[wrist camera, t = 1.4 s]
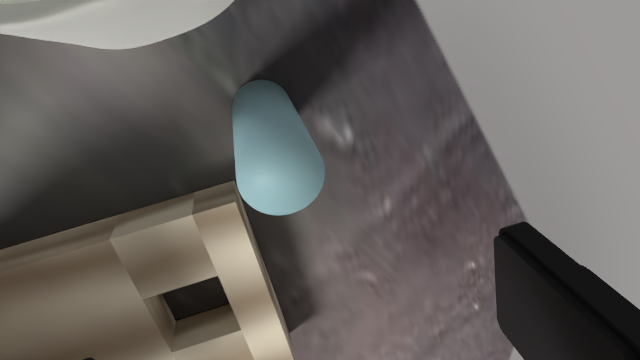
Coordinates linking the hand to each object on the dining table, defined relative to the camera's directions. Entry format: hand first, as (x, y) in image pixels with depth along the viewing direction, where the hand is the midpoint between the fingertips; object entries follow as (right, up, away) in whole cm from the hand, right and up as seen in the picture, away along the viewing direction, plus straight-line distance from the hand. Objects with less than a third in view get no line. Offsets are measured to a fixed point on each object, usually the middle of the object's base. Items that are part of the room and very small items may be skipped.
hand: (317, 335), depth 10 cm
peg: (-3, +8, +16) cm, 19 cm away
